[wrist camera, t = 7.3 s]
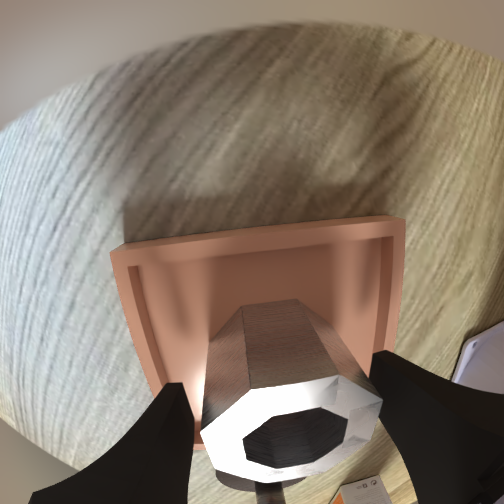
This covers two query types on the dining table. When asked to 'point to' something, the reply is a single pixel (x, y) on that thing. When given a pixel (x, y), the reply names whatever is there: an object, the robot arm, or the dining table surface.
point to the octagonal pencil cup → (283, 395)
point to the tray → (258, 289)
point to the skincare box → (363, 492)
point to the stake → (258, 487)
